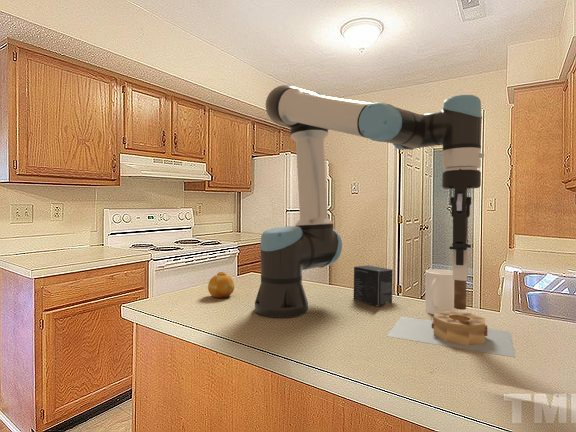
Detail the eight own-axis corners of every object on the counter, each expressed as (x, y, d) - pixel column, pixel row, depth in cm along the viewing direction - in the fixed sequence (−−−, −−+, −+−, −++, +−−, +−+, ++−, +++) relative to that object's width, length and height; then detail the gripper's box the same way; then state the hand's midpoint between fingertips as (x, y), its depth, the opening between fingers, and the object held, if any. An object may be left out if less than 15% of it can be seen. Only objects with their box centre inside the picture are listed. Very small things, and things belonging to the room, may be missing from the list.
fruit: (224, 284, 128) (216, 266, 124) (242, 289, 123) (234, 271, 119) (208, 301, 123) (199, 282, 119) (226, 307, 118) (217, 288, 114)
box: (393, 303, 112) (393, 269, 112) (378, 307, 109) (378, 271, 108) (367, 296, 121) (367, 264, 121) (352, 299, 117) (352, 266, 117)
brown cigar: (453, 308, 80) (454, 235, 80) (454, 305, 83) (454, 234, 82) (466, 310, 79) (466, 235, 79) (466, 307, 81) (467, 234, 81)
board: (386, 341, 81) (386, 336, 81) (401, 321, 95) (401, 316, 95) (514, 363, 70) (515, 357, 70) (509, 336, 84) (510, 331, 84)
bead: (429, 339, 79) (430, 320, 79) (435, 325, 88) (435, 308, 88) (487, 348, 74) (487, 328, 74) (487, 332, 83) (487, 315, 83)
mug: (444, 326, 91) (445, 277, 91) (412, 318, 98) (412, 273, 97) (464, 316, 99) (464, 271, 99) (433, 309, 106) (433, 267, 105)
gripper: (480, 165, 71) (479, 287, 72) (481, 172, 85) (480, 274, 86) (438, 167, 75) (437, 283, 76) (445, 173, 89) (444, 271, 89)
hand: (460, 278), depth 81 cm, fingers closed on brown cigar, 2 cm apart
